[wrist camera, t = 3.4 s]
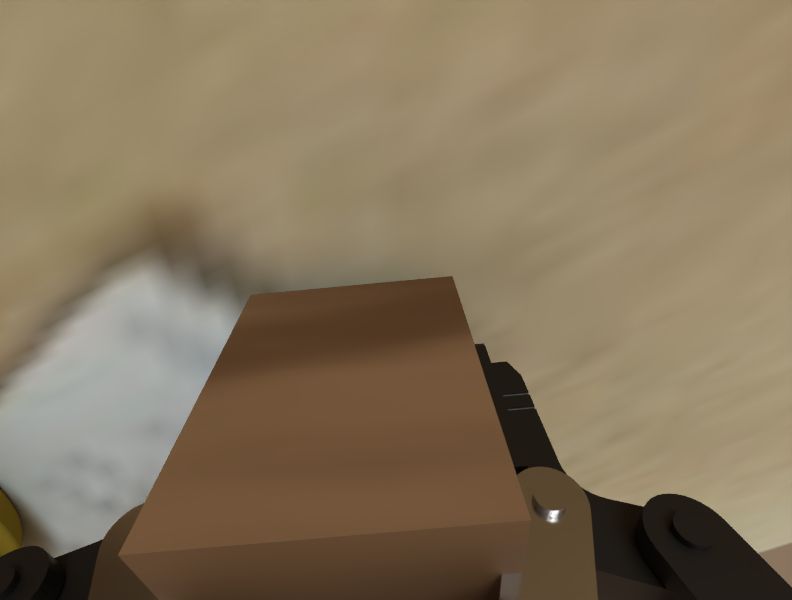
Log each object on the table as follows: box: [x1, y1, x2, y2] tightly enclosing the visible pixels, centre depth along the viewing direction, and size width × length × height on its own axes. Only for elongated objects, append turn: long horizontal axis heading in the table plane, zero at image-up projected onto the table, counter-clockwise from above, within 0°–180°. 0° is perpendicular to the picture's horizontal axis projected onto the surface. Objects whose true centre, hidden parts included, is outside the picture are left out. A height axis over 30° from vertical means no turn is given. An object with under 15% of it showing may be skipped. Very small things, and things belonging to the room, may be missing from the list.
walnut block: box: [118, 276, 531, 600], centre depth 9 cm, size 5×5×6 cm
